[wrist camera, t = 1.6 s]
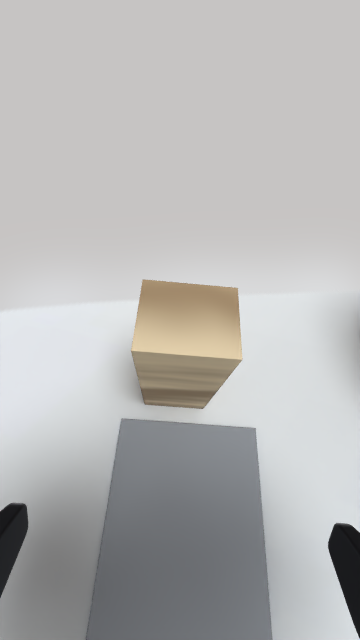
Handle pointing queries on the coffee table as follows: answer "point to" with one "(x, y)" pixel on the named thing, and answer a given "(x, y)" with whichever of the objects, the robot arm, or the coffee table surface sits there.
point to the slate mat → (182, 537)
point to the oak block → (185, 342)
